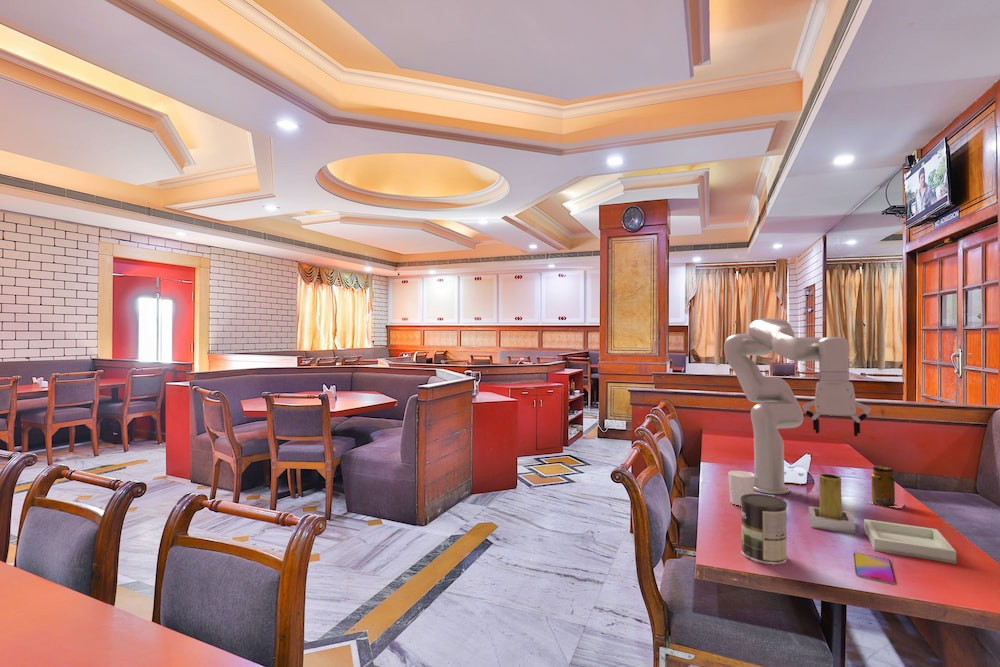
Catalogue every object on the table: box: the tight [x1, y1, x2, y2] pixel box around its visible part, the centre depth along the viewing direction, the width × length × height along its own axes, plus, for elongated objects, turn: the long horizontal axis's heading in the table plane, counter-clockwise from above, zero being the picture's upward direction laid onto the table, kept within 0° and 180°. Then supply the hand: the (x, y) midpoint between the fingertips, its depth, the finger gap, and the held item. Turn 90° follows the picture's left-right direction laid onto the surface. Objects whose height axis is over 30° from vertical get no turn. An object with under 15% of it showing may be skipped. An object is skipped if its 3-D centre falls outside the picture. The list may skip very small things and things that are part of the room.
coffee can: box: [740, 493, 788, 566], centre depth 125 cm, size 10×10×14 cm
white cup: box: [727, 470, 755, 507], centre depth 164 cm, size 8×8×10 cm
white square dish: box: [808, 506, 856, 535], centre depth 145 cm, size 10×10×3 cm
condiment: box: [867, 465, 902, 510], centre depth 163 cm, size 7×8×12 cm
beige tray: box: [863, 518, 957, 565], centre depth 131 cm, size 16×16×3 cm
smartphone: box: [853, 552, 896, 585], centre depth 118 cm, size 7×1×15 cm
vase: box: [818, 473, 843, 520], centre depth 145 cm, size 6×6×14 cm
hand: (836, 434), depth 150 cm, fingers open, 9 cm apart
